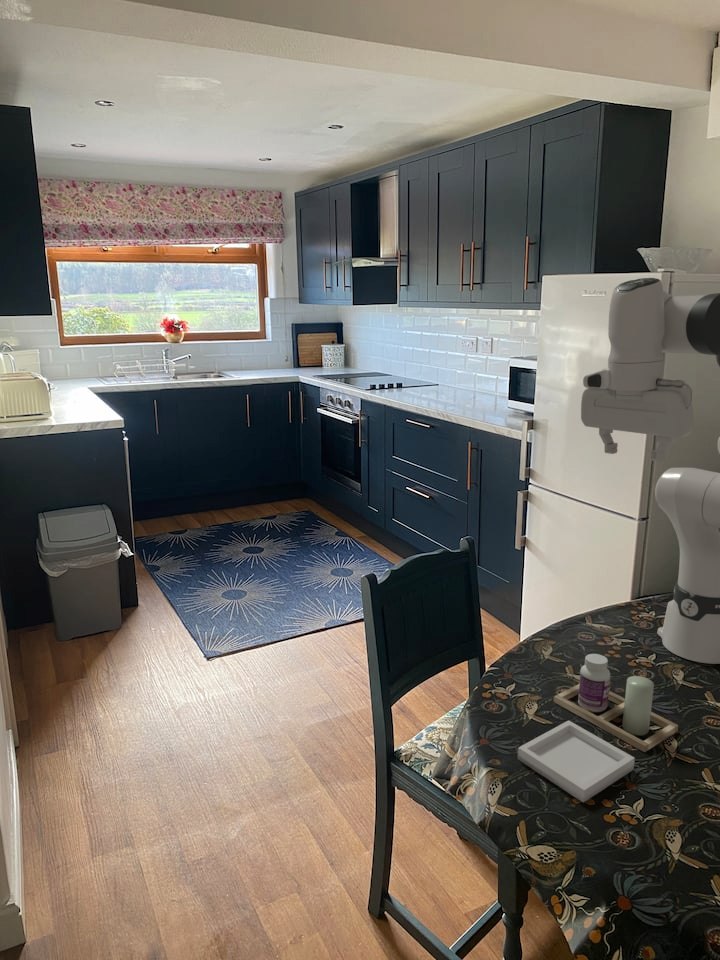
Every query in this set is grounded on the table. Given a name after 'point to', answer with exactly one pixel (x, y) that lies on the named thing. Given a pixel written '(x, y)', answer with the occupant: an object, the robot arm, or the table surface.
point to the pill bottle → (594, 683)
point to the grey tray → (576, 760)
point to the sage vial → (638, 705)
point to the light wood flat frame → (604, 719)
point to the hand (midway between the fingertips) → (633, 456)
